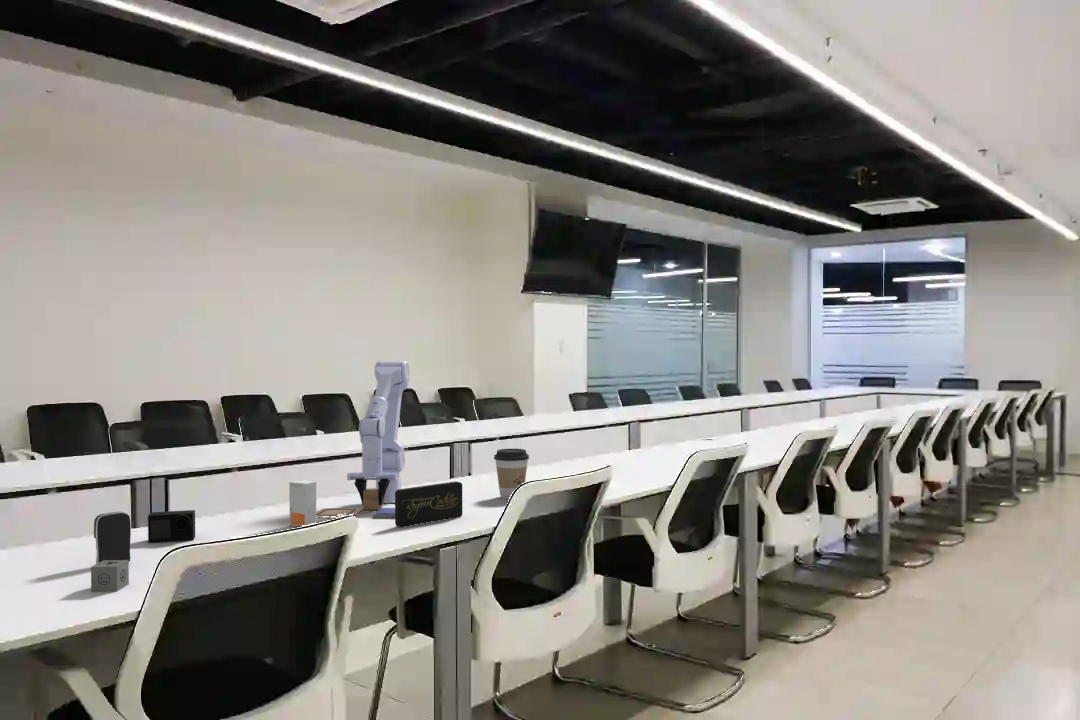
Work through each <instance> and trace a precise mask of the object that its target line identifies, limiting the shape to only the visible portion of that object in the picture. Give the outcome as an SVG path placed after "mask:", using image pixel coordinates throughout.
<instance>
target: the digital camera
mask: <svg viewBox="0 0 1080 720" xmlns="http://www.w3.org/2000/svg"><path fill="white" fill-rule="evenodd" d="M147 537H148V538H147V539H148V540H147V543H148V544H157V543H158V544H159V543H160V544H162V543H173V542H175V543H177V542H189V541H194V539H195V538H196V510H195V509H193V510H192V509H190V510H187V509H186V510H174V511H173V510H171V511H170V510H169V511H156V512H152V511H151V512H150V513H149V514H148V515H147ZM187 540H188V541H187Z"/></svg>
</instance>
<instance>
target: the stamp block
mask: <svg viewBox="0 0 1080 720" xmlns="http://www.w3.org/2000/svg"><path fill="white" fill-rule="evenodd" d="M362 506H363V507H362V509H363V510H362V512H363V511H378V510H379V509H380V508H383V504H382V505H379V489H378V488H376V487H375V488H373V487H372V488H371V487H370V488H367V487H366V489H365V490H364V491H363V505H362Z"/></svg>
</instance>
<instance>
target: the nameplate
mask: <svg viewBox="0 0 1080 720" xmlns="http://www.w3.org/2000/svg"><path fill="white" fill-rule="evenodd" d="M394 508H395V518H394V521H395V522H394V524H395V526H396V527H398V528H401V527H402V528H405V527H404V526H407V527H411V526H410V525H413V526H416V525H415V524H418V525H421V524H420V523H424V524H427V523H426V522H430V523H432V522H431V521H435V522H439V521H438V520H441V521H444V520H443V519H447V520H450V519H449V518H452V519H457V518H456V517H458V518H461V517H462V516H463V483H462V482H460V481H449V482H442V483H435V484H428V485H420V486H412V487H406V488H401V489H398V490H396V492H395V503H394Z"/></svg>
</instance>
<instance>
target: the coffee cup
mask: <svg viewBox="0 0 1080 720" xmlns="http://www.w3.org/2000/svg"><path fill="white" fill-rule="evenodd" d="M493 459H494V460H495V466H496V475H497V481H498V483H497V484H498V490H499V496H500V498H501V499H502V498H504V500H509V499H508V498H509V497H510V495H511V494H512V492H513V491H514V490H515V489H516V488H517V487H518V486H519V485H521V484H522V483H524V482H525V483H526V479H527V478H526V477H527V468H528V461H529V459H530V455H529V453H527V450H526V449H524V448H500V449H497V450H496V454H494V455H493Z"/></svg>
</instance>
